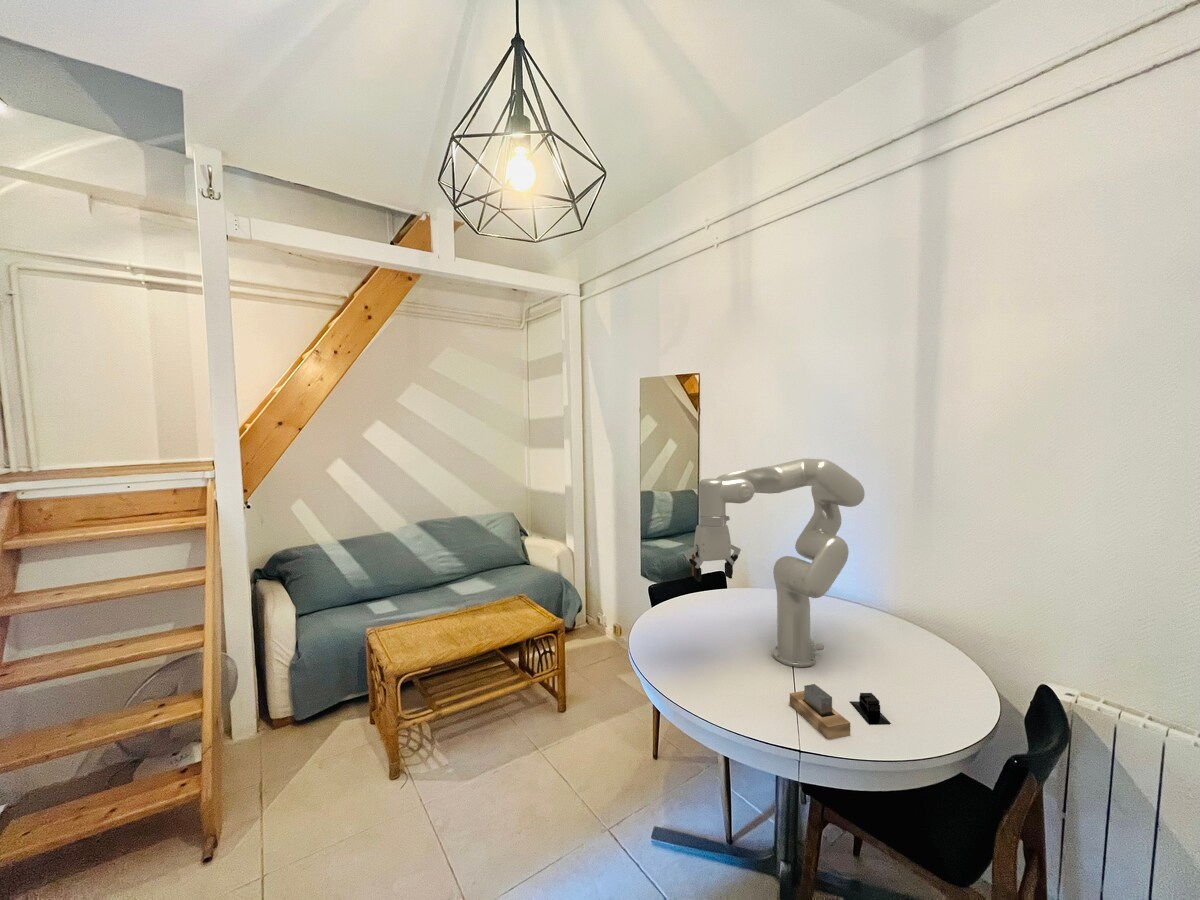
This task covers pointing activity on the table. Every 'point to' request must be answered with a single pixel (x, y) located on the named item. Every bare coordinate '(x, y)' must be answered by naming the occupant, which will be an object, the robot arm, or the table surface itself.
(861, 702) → the black stepped block
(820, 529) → the robot arm
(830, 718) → the slotted wooden block
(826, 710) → the clip
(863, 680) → the table surface
